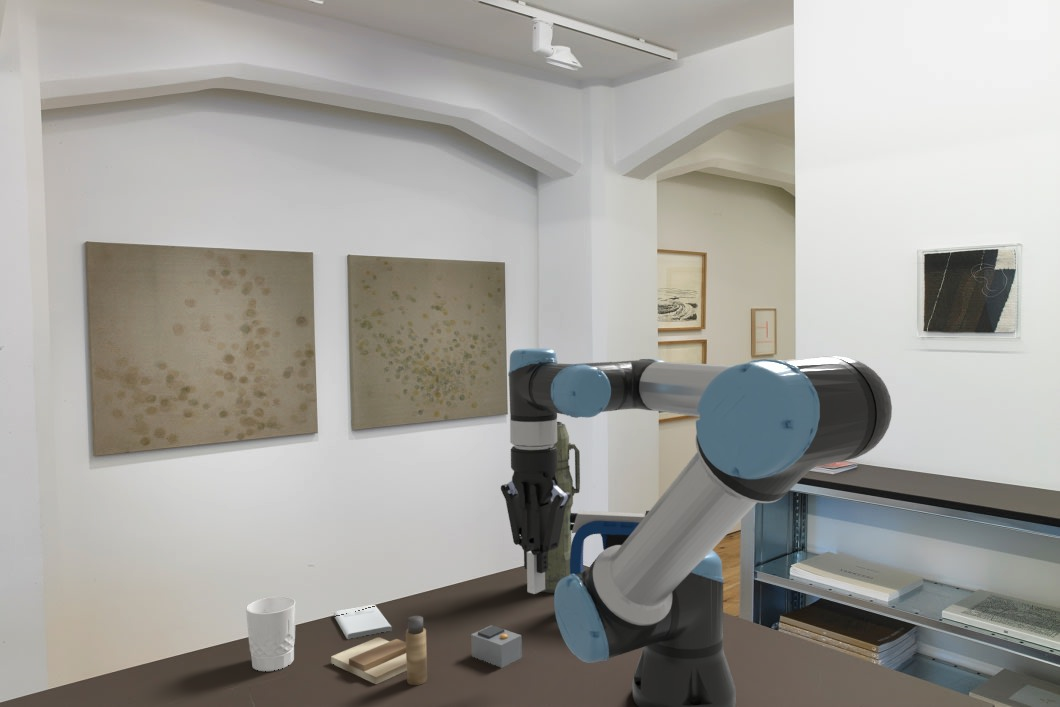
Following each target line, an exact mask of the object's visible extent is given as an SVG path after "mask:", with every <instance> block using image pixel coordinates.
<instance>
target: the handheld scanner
mask: <svg viewBox="0 0 1060 707" xmlns="http://www.w3.org/2000/svg"><path fill="white" fill-rule="evenodd" d="M649 511H650V510H645V513H640V512H639V513H636V512H635V513H634V512H620V511H619V512H614V511H597V510H596V511H593V510H578V512H571V513H570V523H571V524H570V531H571V534H574V533H575V534H574V535H573V538H572V539H571V552H570V574H579V573H582V572H584V544H585V539H587V538H588V537H590V536H593V535H600V537H601V540H602V547H603V548H602V549H603V551H604V550H605V549H607V548H609V547H611V546H615V545H622V544H623V543H624V542H625V541H626V539H627V538H628V537H629V536H630V534H631V533H632V532H633V531H634V530H635V528H636V527H637V526H638V525H639V523H640V522H641V521H642V520H643V518H644V517H645V516H646V515H647V514H648V512H649Z"/></svg>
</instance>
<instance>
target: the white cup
mask: <svg viewBox="0 0 1060 707" xmlns="http://www.w3.org/2000/svg"><path fill="white" fill-rule="evenodd" d="M245 612H246V621H247V635H248V645H249V652H250V655H251V665H252V669H254V670H256V671H257V670H258V672H265V671H266V672H275V671H279V670H283V669H285V668H286V667H289V666H291V664H292V663H293V662H294V661H295V646H294V645H295V643H296V642H295V641H296V640H295V639H296V600H295V599H294V598H292V597H288V596H269V597H264V598H260V599H257V600H254V601H253V602H250V603H249V604H247V606H246V608H245ZM288 665H289V666H288ZM282 668H283V669H282ZM278 669H279V670H278ZM274 670H275V671H274Z"/></svg>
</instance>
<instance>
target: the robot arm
mask: <svg viewBox="0 0 1060 707" xmlns="http://www.w3.org/2000/svg"><path fill="white" fill-rule="evenodd" d="M507 375H508V384H509V385H508V388H509V390H508V391H509V415H510V416H509V417H510V419H509V420H510V421H509V422H510V424H509V425H510V426H509V428H510V429H509V431H510V432H509V435H510V437H509V440H510V441H509V442H510V444H511V445H513V446H512V447H510V469H511V470H512V471H513V473H512V476H511V480H510V481H509V482H508V483H505V484H502V485H501V486H500V491H501V493H502V496H503V497H504V500H505V504H506V510H507V514H508V520H509V526H510V529H511V536H512V539H513V541H512V542H513V543H514V544H515V545H518V546H520V547H521V549H522V550H523V562H524V563H523V567H524V569H525V570H526V585H527V586H526V587H527V589H526V590H527V593H530V594H533V595H535V594H538V593H540V592H541V591H543V590H545V572H546V571H547V570H548V551H551V550H553V549H556V548H558V545H559V539H560V534H561V529H562V523H563V518H564V513H565V507H566V505H567V503H568V501H569V500H570V497H571V495H570V493H569V492H565V493H564V492H563V491H562V490H561V489H560V488H559V487H558V481H557V478H556V470H557V467H558V448H556V446H554V444H555V443H556V442H557V422H558V414H560V415H565V416H569V417H570V418H576V419H577V418H594V417H596V416H597V415H599V414H600V413H604V412H613V411H623V410H635V409H636V410H644V411H653V412H664V413H668V414H669V413H670V414H677V415H683V416H684V415H685V416H690V417H698V418H699V419H697V420H695V430H696V434H695V446H696V450H697V451H696V453H695V454H694V456H692V458H691V459H690V460H689V462H688V463H687V464H686V465H685V467H684V468H683V469H682V470H681V471H680V473H679V474H678V475H677V477H676V478H675V479H674V480H673V481H672V482H671V483H670V486H668V488H667V489H666V490H665V491H664V493H663V494H662V495H661V496H660V497H659V499H658V500H657V501H656V502H655V503H654V505H653V506H652V507H651V509H649V510H648V511H649V512H648V514H647V515H646V516H645V517H644V518H643V520H642V521H641V522H640V523H639V525H638V526H637V527H636V528H635V530H634V531H633V532H632V533H631V534H630V536H629V537H628V538H627V539H626V541H625V542H624V543H623V544H622V545H615V546H611V547H609V548H607V549H605V550H603V551H602V552H600V553H599V554H598V556H597V557H596V558H595V559H594V561H593V562H592V563H591V564H590V565H589V567H588V568H587V569H585V571H584V570H583V572H582V573H579V574H570V575H569V576H567V577H564V578H562V579H561V580H560V581H559V582H558V584H557V586H556V589H555V593H553V594H554V596H553V606H554V613H555V619H556V623H557V626H558V629H559V631H560V632H559V633H560V635H561V637H562V639H563V641H564V643H565V645H566V647H567V648H568V650H570V652H571V653H572V654H573V655H574V657H575V656H576V658H578V659H579V660H580V661H582V662H583V663H588V664H589V663H590V664H593V663H596V662H597V663H598V662H601V661H604V662H606V661H608V660H609V659H612V658H614V657H617V656H620V655H624V654H627V653H630V652H633V651H636V650H639V649H642V650H641V653H640V657H639V660H638V662H637V666H636V668H635V669H636V670H635V672H634V675H633V679H632V699H633V702H634V703H635V704H636V706H637V707H736V704H737V701H736V695H737V693H736V684H735V682H734V679H733V676H732V674H731V669H730V667H729V664H728V661H727V657H726V655H725V653H724V583H725V579H724V577H723V576H724V575H723V562H722V559H721V557H720V556H719V554H718V553H717V552H715V551H714V549H715V547H717V545H719V543H720V542H721V541H722V540H723V539H724V538H725V537H726V536H727V535H728V534H729V533H730V532H731V531H732V530H733V529H734V528H735V527H736V525H737V524H739V523H740V521H741V520H742V519H743V518H744V517H745V516H746V515H747V514H748V513H749V512H750V511H751V510H752V508H754V506H756V504H758V503H759V504H772V503H775V502H777V501H779V500H781V499H782V498H783V497H785V495H787V494H788V493H789V492H790V491H791V490H792V489H793V488H794V487H795V485H796V484H798V482H799V481H800V480H802V478H803V477H804V476H805V475H806V474H807V473H809V472H810V471H811V470H813V469H815V468H816V467H818V466H819V467H820V466H824V465H830V464H836V463H839V462H845V461H849V460H854V459H857V458H859V457H861V456H863V455H865V454H867V453H868V452H870V451H872V450H873V449H875V448H876V447H877V445H878V444H880V442H881V441H882V440H883V438H884V437H885V435H886V433H887V432H888V429H889V427H890V424H891V420H892V414H893V413H892V412H893V411H892V410H893V406H892V399H891V396H890V393H889V389H888V387H887V385H886V384H885V382H884V380H883V379H882V377H880V376H879V374H878V373H877V372H876V371H874V369H872V368H871V367H869V366H868V365H867V364H865V363H864V362H861V361H859V360H857V359H853V358H850V357H846V356H845V357H843V356H839V355H838V356H834V355H832V356H821V357H805V358H793V359H792V358H791V359H780V360H779V359H773V358H761V359H754V360H751V361H749V362H745V363H739V364H736V365H732V364H731V365H730V364H729V365H728V364H716V363H715V364H714V363H713V364H712V363H710V364H709V363H691V362H676V361H665V360H662V359H653V358H644V359H643V358H642V359H641V358H640V359H638V360H637V359H636V360H623V361H606V362H605V361H603V362H587V363H586V362H584V363H558V361H557V353H556V352H555V351H554V349H551V348H518V349H514V350H512V352H510V355H509V371H508V373H507ZM552 495H553V496H552ZM551 497H552V498H551ZM551 501H552V503H551ZM549 509H550V510H549Z"/></svg>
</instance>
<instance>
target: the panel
mask: <svg viewBox="0 0 1060 707" xmlns="http://www.w3.org/2000/svg"><path fill="white" fill-rule="evenodd" d="M330 664H331V665H333V664H334V665H333V666H335V667H338V668H340V669H342V670H344V671H347V672H348V673H351V674H353V675H354V676H357V677H359V678H362V679H364V680H366V681H367V682H369V683H372V684H375V685H378V684H380V683H382V682H386V681H387V680H389V679H392V678H393V677H395V676H397V675H400V674H401V673H404V672H407V664H406V641H403V640H401V639H398V638H395V639H392V640H390V641H389V640H387V639H385V638H383V637H380V636H379V637H375V638H373V639H370V640H367V641H366V642H363V643H361V644H358V645H356V646H353V647H350V648H348V649H345V650H343V651H341V652H338V653H336V654H334V655H331V656H330Z"/></svg>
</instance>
